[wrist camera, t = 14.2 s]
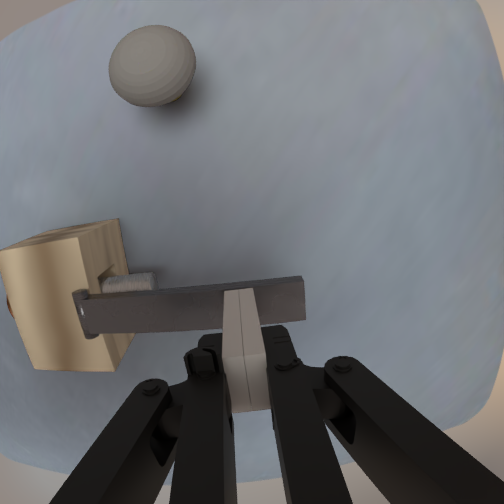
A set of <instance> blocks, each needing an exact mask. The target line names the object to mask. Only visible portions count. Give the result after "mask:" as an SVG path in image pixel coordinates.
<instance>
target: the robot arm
mask: <svg viewBox="0 0 504 504" xmlns="http://www.w3.org/2000/svg"><path fill="white" fill-rule="evenodd" d="M183 358H184V362H185V366H186V369H187V373H188V379H187V380H186V381H184V382H182V383H179V384H176V385H172V386H168V384H167V382H165V381H164V380H161V379H149V380H145V381H143V382H141V383H139V384H138V385H137V386H136V387H135V388H134V390H133V391H132V392H131V394H130V395H129V396H128V398H127V399H126V400H125V402H124V403H123V404H122V406H121V407H120V408H119V410H118V411H117V412H116V414H115V415H114V416H113V418H112V419H111V420H110V422H109V423H108V424H107V426H106V427H105V428H104V430H103V431H102V432H101V434H100V435H99V436H98V438H97V439H96V440H95V442H94V443H93V444H92V446H91V447H90V449H89V450H88V451H87V453H86V454H85V455H84V457H83V458H82V459H81V461H80V462H79V463H78V465H77V466H76V467H75V469H74V470H73V472H72V473H71V474H70V476H69V477H68V478H67V480H66V481H65V482H64V484H63V485H62V487H61V488H60V489H59V491H58V492H57V493H56V495H55V496H54V497H53V499H52V500H51V502H50V503H49V504H154V502H155V500H156V498H157V496H158V494H159V492H160V490H161V488H162V486H163V483H164V481H165V479H166V477H167V475H168V473H169V471H170V469H171V467H172V465H173V462H174V460H175V463H174V470H173V478H172V485H171V493H170V501H169V504H237V487H236V467H235V445H234V422H233V417H232V413H239V412H249V411H257V410H265V409H271V413H272V422H273V430H274V432H275V438H276V444H277V450H278V456H279V461H280V467H281V473H282V478H283V484H284V490H285V496H286V501H287V504H353V503H352V500H351V497H350V494H349V491H348V488H347V486H346V483H345V480H344V477H343V474H342V471H341V468H340V465H339V463H338V460H337V457H336V454H335V451H334V448H333V446H332V443H331V440H330V437H329V434H328V431H327V429H326V426H325V424H326V425H327V427H328V428H329V429H330V430H331V432H332V433H333V434H334V435H335V437H336V438H337V439H338V440H339V442H340V443H341V444H342V445H343V447H344V448H345V449H346V450H347V452H348V453H349V454H350V455H351V457H352V458H353V459H354V460H355V462H356V463H357V464H358V465H359V466H360V468H361V469H362V470H363V471H364V473H365V474H366V475H367V476H368V477H369V479H370V480H371V481H372V482H373V483H374V485H375V486H376V487H377V488H378V489H379V491H380V492H381V493H382V494H383V495H384V496H385V498H386V499H387V500H388V501H389V502H390V504H504V482H503V481H502V480H501V479H500V478H498V477H497V476H496V475H495V474H493V473H492V472H491V471H490V470H488V469H487V468H486V467H485V466H483V465H482V464H481V463H480V462H479V461H477V460H476V459H475V458H474V457H473V456H471V455H470V454H469V453H468V452H466V451H465V450H464V449H463V448H462V447H460V446H459V445H458V444H457V443H456V442H454V441H453V440H452V439H451V438H449V437H448V436H447V435H446V434H445V433H443V432H442V431H441V430H440V429H439V428H437V427H436V426H435V425H434V424H433V423H431V422H430V421H429V420H428V419H427V418H425V417H424V416H423V415H422V414H421V413H420V412H418V411H417V410H416V409H415V408H414V407H412V406H411V405H410V404H409V403H408V402H406V401H405V400H404V399H403V398H402V397H400V396H399V395H398V394H397V393H396V392H395V391H393V390H392V389H391V388H390V387H389V386H387V385H386V384H385V383H384V382H383V381H382V380H380V379H379V378H378V377H377V376H376V375H374V374H373V373H372V372H371V371H370V370H369V369H367V368H366V367H365V366H364V365H363V364H362V363H360V362H359V361H358V360H356V359H355V358H353V357H348V356H338V357H334V358H332V359H330V360H328V361H327V362H326V363H325V366H324V367H310V366H306V365H304V364H303V362H302V361H301V359H299V358H297V355H296V352H295V350H294V347H293V344H292V341H291V338H290V336H289V333H288V330H287V329H286V328H285V327H283V326H282V325H276V326H268V327H260V322H259V317H258V312H257V307H256V302H255V296H254V291H253V288H246V289H239V290H229V291H224V312H223V333H215V334H205V335H203V336H202V337H201V339H200V340H199V342H198V348H194V349H192V350H190V351H188V352H187V353H186V354H185V356H184V357H183ZM251 406H252V408H251ZM324 422H325V423H324Z"/></svg>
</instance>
